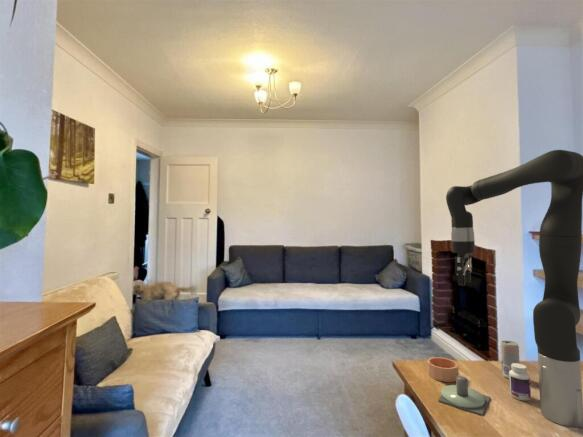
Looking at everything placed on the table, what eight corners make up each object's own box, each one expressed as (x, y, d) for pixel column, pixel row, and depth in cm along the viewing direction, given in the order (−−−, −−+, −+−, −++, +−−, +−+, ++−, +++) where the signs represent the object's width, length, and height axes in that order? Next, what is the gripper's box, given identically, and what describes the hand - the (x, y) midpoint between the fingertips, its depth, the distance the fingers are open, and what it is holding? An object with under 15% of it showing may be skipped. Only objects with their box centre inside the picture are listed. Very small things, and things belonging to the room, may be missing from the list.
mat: (490, 398, 99) (490, 396, 99) (482, 415, 90) (482, 414, 90) (449, 386, 107) (449, 384, 107) (438, 401, 98) (438, 399, 98)
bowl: (461, 374, 115) (461, 361, 115) (454, 385, 108) (453, 371, 108) (433, 367, 122) (432, 355, 122) (424, 376, 114) (423, 363, 115)
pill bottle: (534, 402, 96) (533, 369, 97) (515, 400, 98) (513, 368, 98) (525, 393, 102) (523, 362, 102) (506, 391, 103) (505, 361, 103)
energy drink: (514, 373, 115) (513, 340, 116) (523, 380, 110) (522, 345, 110) (499, 373, 116) (497, 340, 116) (507, 380, 110) (506, 345, 111)
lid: (488, 396, 99) (487, 376, 100) (480, 413, 90) (479, 392, 91) (447, 384, 107) (446, 366, 108) (436, 399, 98) (435, 379, 99)
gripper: (469, 240, 109) (471, 288, 108) (478, 239, 119) (480, 282, 119) (446, 240, 114) (448, 285, 113) (456, 239, 124) (458, 280, 124)
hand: (464, 284), depth 116 cm, fingers open, 8 cm apart
